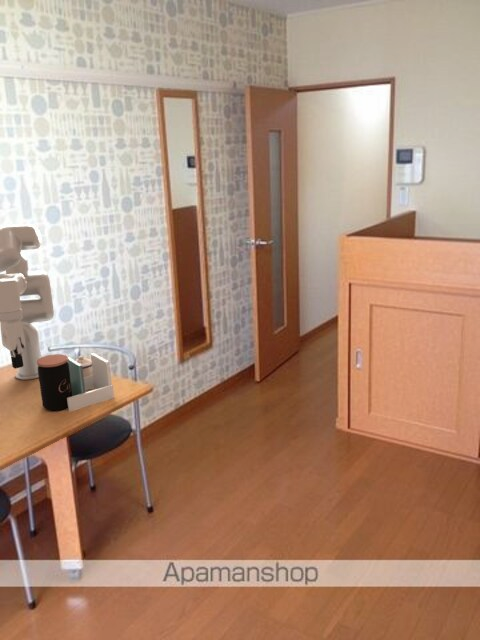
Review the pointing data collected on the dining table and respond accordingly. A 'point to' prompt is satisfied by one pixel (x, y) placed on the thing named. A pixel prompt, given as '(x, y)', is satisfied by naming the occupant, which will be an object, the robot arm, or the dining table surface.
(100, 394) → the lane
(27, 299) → the robot arm
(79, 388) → the plate
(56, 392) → the coffee jar
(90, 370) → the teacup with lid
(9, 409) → the dining table surface
